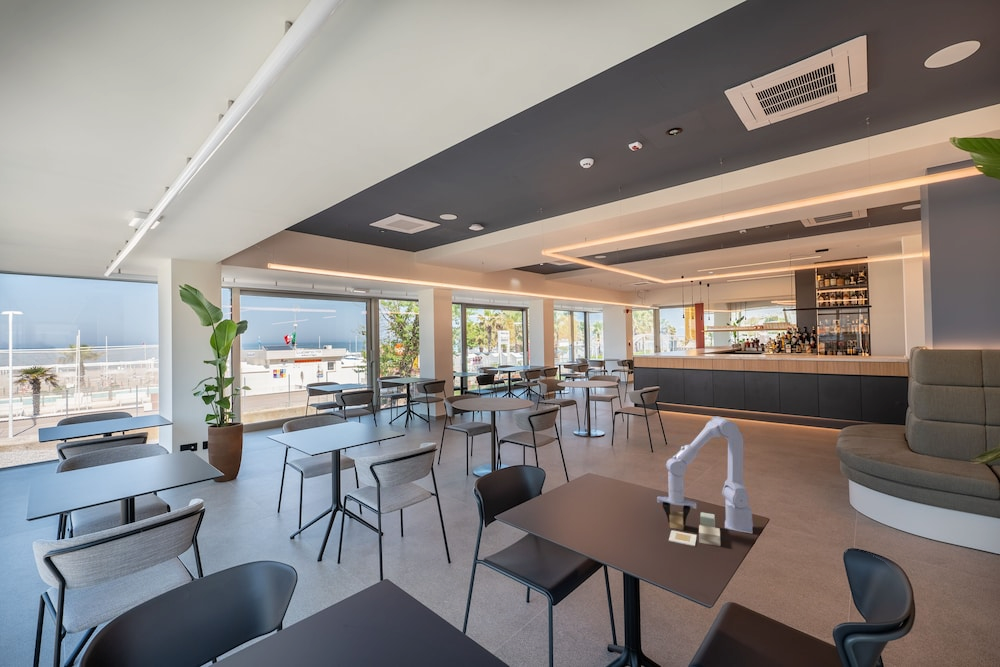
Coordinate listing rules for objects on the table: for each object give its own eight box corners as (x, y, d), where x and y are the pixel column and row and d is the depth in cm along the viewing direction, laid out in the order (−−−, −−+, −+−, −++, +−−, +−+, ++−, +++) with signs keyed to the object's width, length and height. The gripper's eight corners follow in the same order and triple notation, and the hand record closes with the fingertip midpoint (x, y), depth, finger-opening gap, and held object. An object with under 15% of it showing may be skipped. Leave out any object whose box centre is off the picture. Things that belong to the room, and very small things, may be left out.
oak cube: (684, 525, 167) (683, 512, 168) (683, 530, 163) (682, 517, 163) (671, 522, 170) (670, 510, 170) (669, 527, 165) (669, 515, 166)
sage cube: (714, 526, 166) (714, 514, 166) (714, 532, 161) (714, 519, 161) (701, 524, 168) (700, 512, 168) (700, 529, 164) (700, 516, 164)
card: (696, 536, 158) (696, 534, 158) (695, 546, 150) (695, 545, 150) (671, 531, 162) (671, 529, 162) (668, 541, 154) (668, 539, 154)
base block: (719, 538, 156) (719, 528, 156) (720, 547, 150) (720, 536, 150) (699, 535, 159) (699, 524, 159) (699, 543, 153) (698, 532, 153)
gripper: (696, 488, 167) (697, 522, 166) (658, 483, 174) (659, 515, 173) (695, 494, 161) (696, 529, 160) (656, 488, 168) (656, 522, 167)
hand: (676, 522), depth 166 cm, fingers closed on oak cube, 5 cm apart
